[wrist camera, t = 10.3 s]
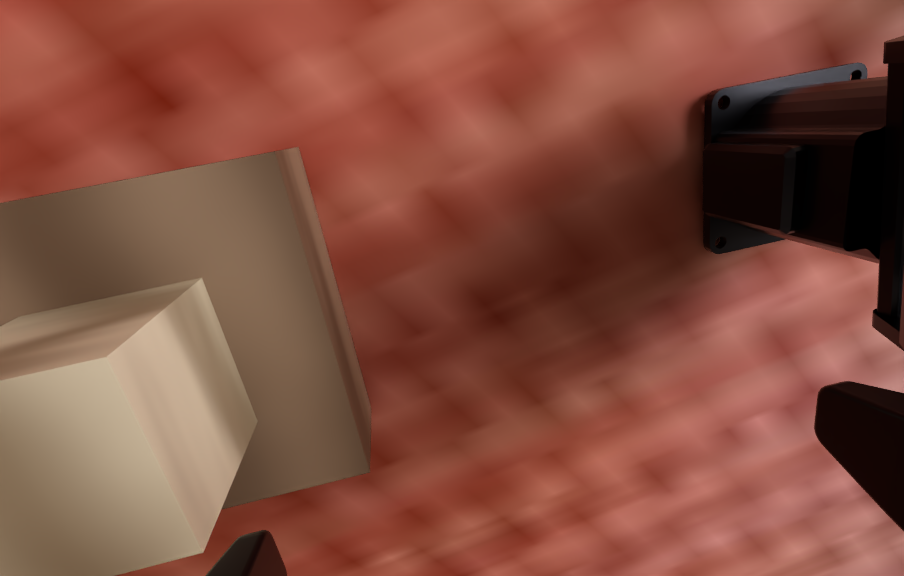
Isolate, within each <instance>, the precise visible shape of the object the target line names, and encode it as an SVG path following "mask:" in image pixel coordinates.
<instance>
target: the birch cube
mask: <svg viewBox="0 0 904 576" xmlns="http://www.w3.org/2000/svg"><path fill="white" fill-rule="evenodd" d="M257 422H258V421H257V418H256V416H255V413H254V411H253V408H252V406H251V403H250V400H249V398H248V395H247V393H246V390H245V387H244V385H243V382H242V380H241V377H240V375H239V372H238V369H237V367H236V364H235V362H234V359H233V357H232V354H231V351H230V349H229V346H228V344H227V341H226V339H225V336H224V333H223V331H222V328H221V326H220V323H219V321H218V318H217V315H216V313H215V310H214V308H213V305H212V303H211V300H210V297H209V295H208V292H207V290H206V287H205V285H204V282H203V279H202V278H198V279H194V280H189V281H184V282H180V283H175V284H170V285H166V286H161V287H156V288H151V289H147V290H142V291H137V292H133V293H128V294H123V295H119V296H114V297H109V298H105V299H100V300H95V301H90V302H86V303H81V304H76V305H72V306H67V307H62V308H58V309H53V310H48V311H43V312H39V313H34V314H29V315H25V316H20V317H18V318H16V319H14V320H12V321H10V322H8V323H6V324H4V325H2V326H0V576H115V575H119V574H123V573H127V572H131V571H134V570H138V569H142V568H146V567H150V566H154V565H158V564H161V563H165V562H169V561H173V560H177V559H181V558H184V557H188V556H192V555H196V554H200V553H203V552H204V550H205V547H206V545H207V542H208V540H209V538H210V535H211V533H212V530H213V528H214V526H215V523H216V521H217V518H218V516H219V513H220V511H221V509H222V506H223V504H224V501H225V499H226V497H227V494H228V492H229V489H230V487H231V485H232V482H233V480H234V477H235V475H236V473H237V470H238V468H239V465H240V463H241V460H242V458H243V456H244V453H245V451H246V448H247V446H248V444H249V441H250V439H251V436H252V434H253V432H254V429H255V427H256V424H257Z"/></svg>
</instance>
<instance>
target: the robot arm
mask: <svg viewBox="0 0 904 576" xmlns="http://www.w3.org/2000/svg"><path fill="white" fill-rule="evenodd" d="M883 63H884V64H888V76H886V77H877V78H868V79H867V68H866V66H865V65H864V64H862V63H852V64H846V65H841V66H835V67H830V68H825V69H820V70H815V71H809V72H804V73H799V74H794V75H789V76H784V77H778V78H773V79H768V80H763V81H758V82H752V83H747V84H742V85H737V86H732V87H726V88H721V89H717V90H714V91H712V92H711V93H710V94H709V95H708V97H707V99H706V101H705V127H704V151H703V211H704V229H703V243H704V247H705V249H706V250H707V251H710V252H712V253H715V254H722V253H727V252H731V251H736V250H740V249H745V248H749V247H753V246H758V245H762V244H767V243H771V242H776V241H780V240H785V239H788V240H792V241H795V242H799V243H803V244H807V245H810V246H814V247H818V248H822V249H826V250H829V251H833V252H837V253H841V254H845V255H848V256H852V257H856V258H860V259H863V260H867V261H871V262H875V263H879V276H878V298H877V309H875V310H873V320H872V326H873V327H874V328H875V329H876V330H877V331H879V332H880V333H881V334H883V335H884V336H885V337H886V338H888V339H889V340H890V341H892V342H893V343H894V344H896V345H897V346H898V347H899V348H901V349H902V350H903V351H904V36H902V37H898V38H895V39H892V40H889V41H886V42H884V59H883ZM851 73H852V78H851V80H850V75H851ZM720 97H721V98H722V100H723V104H722V107H721V108H719V107H718V100H719V99H720ZM719 237H720V241H719V243H718V244H717V245H716V246H715V242H716V240H717V239H718V238H719ZM814 429H815V434H816V436H817V438H818V440H819V441H820V443H821V444H822V445H823V446H824V447H825V448H826V449H827V450H828V451H829V453H830V454H831V455H832V456H833V457H834V458H835V459H836V460H837V461H838V462H839V463H840V464H841V465H842V466H843V468H844V469H845V470H846V471H847V472H848V473H849V474H850V475H851V476H852V477H853V478H854V479H855V480H856V482H857V483H858V484H859V485H860V486H861V487H862V488H863V489H864V490H865V491H866V492H867V493H868V494H869V495H870V497H871V498H872V499H873V500H874V501H875V502H876V503H877V504H878V505H879V506H880V507H881V508H882V509H883V511H884V512H885V513H886V514H887V515H888V516H889V517H890V518H891V519H892V520H893V521H894V522H895V523H896V524H897V525H898V526H899V527H900V528H901V529H902V530H903V531H904V393H900V392H896V391H891V390H887V389H882V388H878V387H873V386H869V385H864V384H860V383H855V382H850V381H844V382H839V383H835V384H831V385H827V386H824V387H823V388H821V389H820V391H819V392H818V397H817V406H816V415H815V424H814ZM206 576H287V572H286V568H285V565H284V563H283V561H282V558H281V556H280V553H279V551H278V548H277V546H276V544H275V541H274V539H273V536H272V535H271V533H270V532H269V531H267V530H261V531H258V532H254V533H250V534H246V535H243V536H240V537H239V538H238V539H237V540H236V541H235V542H234V543H233V544H232V545H231V546H230V547H229V549H228V550H227V551H226V552H225V553H224V555H223V556H222V557H221V558H220V559H219V560H218V562H217V563H216V564H215V565H214V566H213V567H212V569H211V570H210V571H209V572H208V573H207V575H206Z"/></svg>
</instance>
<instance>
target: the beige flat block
mask: <svg viewBox="0 0 904 576" xmlns="http://www.w3.org/2000/svg"><path fill="white" fill-rule="evenodd" d="M198 278H202V279H203V282H204V285H205V287H206V290H207V292H208V295H209V297H210V300H211V303H212V305H213V308H214V310H215V313H216V315H217V318H218V321H219V323H220V326H221V328H222V331H223V333H224V336H225V339H226V341H227V344H228V346H229V349H230V351H231V354H232V357H233V359H234V362H235V364H236V367H237V369H238V372H239V375H240V377H241V380H242V382H243V385H244V387H245V390H246V393H247V395H248V398H249V400H250V403H251V406H252V408H253V411H254V413H255V416H256V418H257V421H258V422H257V424H256V427H255V429H254V432H253V434H252V436H251V439H250V441H249V444H248V446H247V448H246V451H245V453H244V456H243V458H242V460H241V463H240V465H239V468H238V470H237V473H236V475H235V477H234V480H233V482H232V485H231V487H230V489H229V492H228V494H227V497H226V499H225V501H224V504H223V506H222V509H225V508H229V507H233V506H237V505H241V504H245V503H249V502H253V501H257V500H261V499H265V498H269V497H273V496H277V495H281V494H285V493H289V492H293V491H297V490H301V489H305V488H309V487H313V486H317V485H321V484H325V483H329V482H333V481H337V480H341V479H345V478H349V477H353V476H357V475H361V474H365V473H369V472H370V449H371V405H370V402H369V398H368V394H367V391H366V387H365V384H364V380H363V376H362V373H361V369H360V366H359V362H358V359H357V355H356V351H355V348H354V344H353V341H352V337H351V333H350V330H349V326H348V323H347V319H346V316H345V312H344V308H343V305H342V301H341V298H340V294H339V290H338V287H337V283H336V280H335V276H334V272H333V269H332V265H331V262H330V258H329V255H328V251H327V247H326V244H325V240H324V237H323V233H322V229H321V226H320V222H319V219H318V215H317V211H316V208H315V204H314V201H313V197H312V194H311V190H310V186H309V183H308V179H307V176H306V172H305V168H304V165H303V161H302V158H301V154H300V150H299V147H296V148H290V149H285V150H280V151H274V152H269V153H264V154H259V155H253V156H248V157H243V158H237V159H232V160H227V161H221V162H216V163H211V164H206V165H200V166H195V167H190V168H184V169H179V170H174V171H168V172H163V173H158V174H153V175H147V176H142V177H137V178H131V179H126V180H121V181H115V182H110V183H105V184H100V185H94V186H89V187H84V188H78V189H73V190H68V191H62V192H57V193H52V194H47V195H41V196H36V197H31V198H25V199H20V200H15V201H9V202H4V203H0V326H2V325H4V324H6V323H8V322H10V321H12V320H14V319H16V318H18V317H20V316H25V315H29V314H34V313H39V312H43V311H48V310H53V309H58V308H62V307H67V306H72V305H76V304H81V303H86V302H90V301H95V300H100V299H105V298H109V297H114V296H119V295H123V294H128V293H133V292H137V291H142V290H147V289H151V288H156V287H161V286H166V285H170V284H175V283H180V282H184V281H189V280H194V279H198Z"/></svg>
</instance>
